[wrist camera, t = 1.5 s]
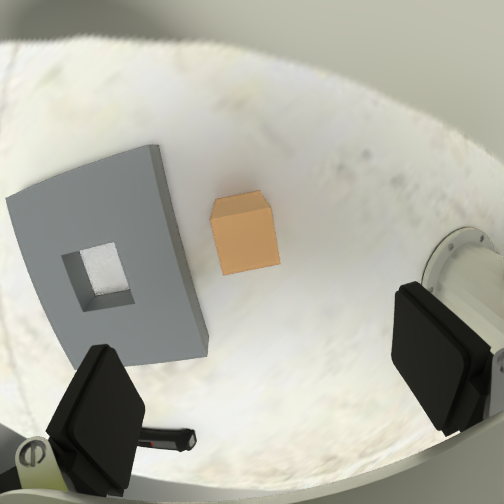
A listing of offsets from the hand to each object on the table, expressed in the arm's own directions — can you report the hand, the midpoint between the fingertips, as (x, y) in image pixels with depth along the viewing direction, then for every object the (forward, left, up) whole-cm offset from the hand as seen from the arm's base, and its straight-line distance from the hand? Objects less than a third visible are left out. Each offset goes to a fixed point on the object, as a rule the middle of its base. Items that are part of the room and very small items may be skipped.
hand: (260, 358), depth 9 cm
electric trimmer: (+20, +28, -21) cm, 40 cm away
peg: (0, 0, -20) cm, 20 cm away
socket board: (+14, +2, -20) cm, 24 cm away
